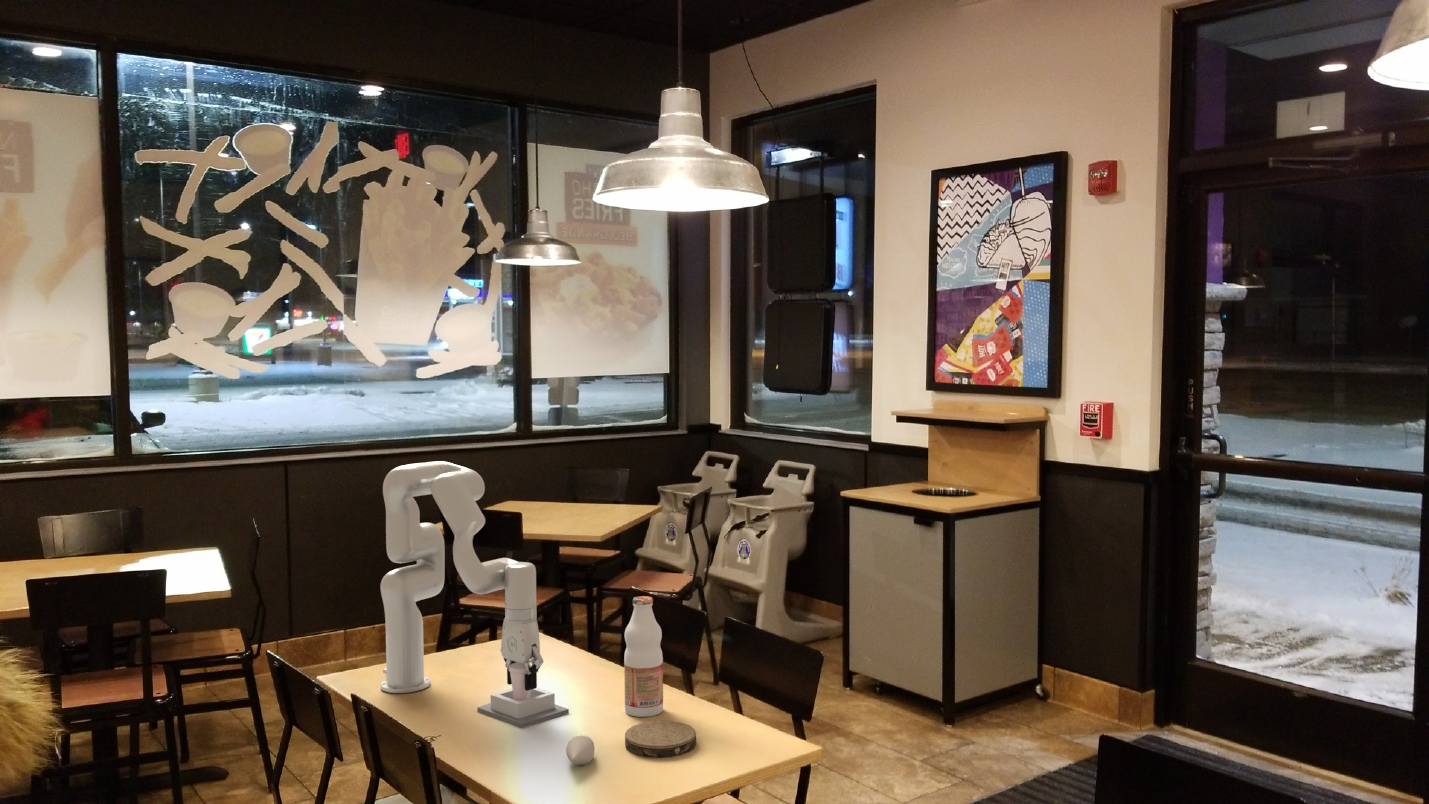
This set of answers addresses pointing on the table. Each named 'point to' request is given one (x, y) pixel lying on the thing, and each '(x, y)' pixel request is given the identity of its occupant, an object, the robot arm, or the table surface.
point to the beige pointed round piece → (580, 750)
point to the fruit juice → (643, 661)
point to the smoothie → (519, 681)
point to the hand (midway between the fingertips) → (522, 685)
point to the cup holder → (523, 708)
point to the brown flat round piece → (660, 739)
